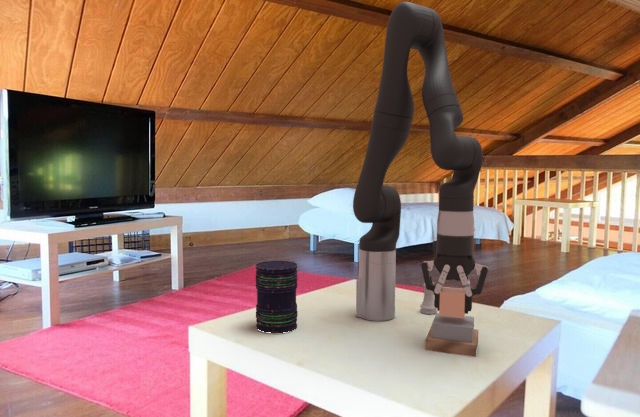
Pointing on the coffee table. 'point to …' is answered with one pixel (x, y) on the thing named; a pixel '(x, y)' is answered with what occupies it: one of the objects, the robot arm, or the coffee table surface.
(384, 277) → the robot arm
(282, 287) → the storage jar
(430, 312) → the rook chess piece
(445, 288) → the terracotta cube
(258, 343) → the coffee table surface
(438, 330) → the slate top block
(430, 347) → the walnut base slab
